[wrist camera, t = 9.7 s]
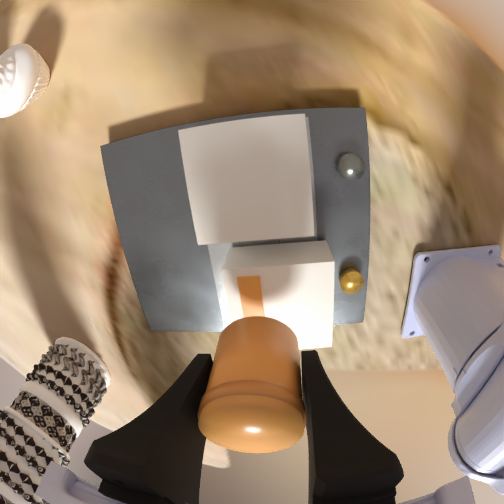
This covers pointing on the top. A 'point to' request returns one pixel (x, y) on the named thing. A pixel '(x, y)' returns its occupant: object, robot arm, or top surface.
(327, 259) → the toggle
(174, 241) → the panel
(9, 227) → the top surface
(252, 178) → the toggle
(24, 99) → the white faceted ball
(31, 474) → the decorative candle
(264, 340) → the cap
